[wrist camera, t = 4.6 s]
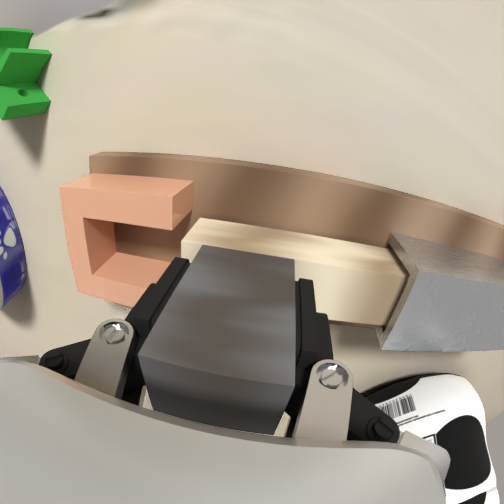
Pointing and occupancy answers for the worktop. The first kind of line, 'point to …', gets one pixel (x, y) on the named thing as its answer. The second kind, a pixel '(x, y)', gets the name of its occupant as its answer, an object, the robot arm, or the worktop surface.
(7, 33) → the pipe clamp
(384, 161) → the worktop surface
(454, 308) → the grey concrete brick
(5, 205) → the dog bowl
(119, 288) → the socket
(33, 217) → the worktop surface
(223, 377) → the bar
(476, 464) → the milk container
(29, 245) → the worktop surface
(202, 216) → the board
